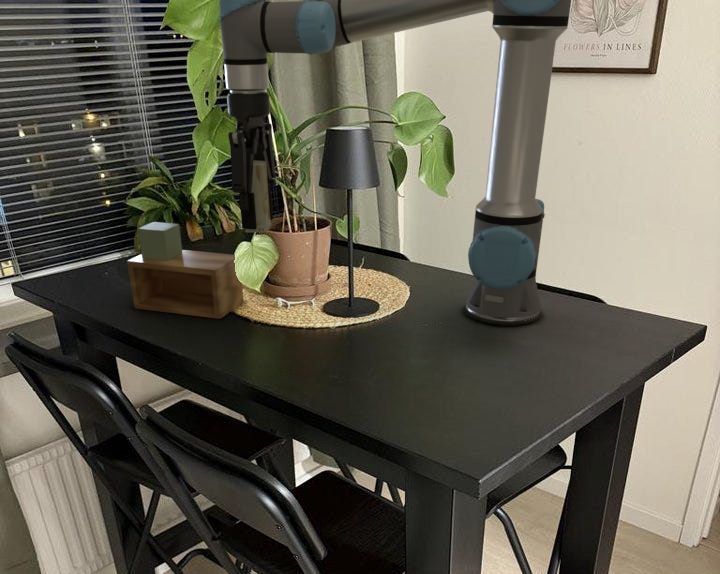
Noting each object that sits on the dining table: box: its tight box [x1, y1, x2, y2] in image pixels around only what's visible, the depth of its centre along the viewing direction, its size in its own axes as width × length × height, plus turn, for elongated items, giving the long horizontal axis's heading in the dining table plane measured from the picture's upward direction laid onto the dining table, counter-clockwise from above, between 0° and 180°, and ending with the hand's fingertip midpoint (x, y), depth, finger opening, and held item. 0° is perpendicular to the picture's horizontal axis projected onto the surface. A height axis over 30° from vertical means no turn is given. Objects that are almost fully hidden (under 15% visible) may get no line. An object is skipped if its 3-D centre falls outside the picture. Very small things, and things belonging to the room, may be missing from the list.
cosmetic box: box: [244, 160, 272, 234], centre depth 144 cm, size 6×4×12 cm
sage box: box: [137, 221, 183, 261], centre depth 155 cm, size 6×6×6 cm
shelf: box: [126, 249, 244, 320], centre depth 158 cm, size 11×20×10 cm, turn 72°
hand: (257, 223), depth 146 cm, fingers closed on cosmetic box, 7 cm apart
